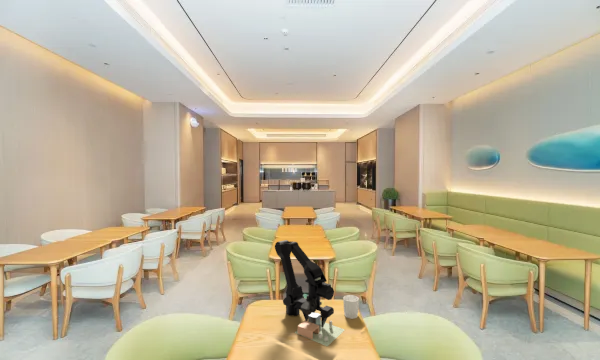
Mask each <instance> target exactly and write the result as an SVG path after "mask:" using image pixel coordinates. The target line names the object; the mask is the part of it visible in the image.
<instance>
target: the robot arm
mask: <svg viewBox="0 0 600 360" xmlns="http://www.w3.org/2000/svg"><path fill="white" fill-rule="evenodd" d="M274 250H275V252H276V255H277V256H278V257H279V259H280V261H281V264H282V269H283V273H284V277H285V281H286V290H285V295H286V296H285V297H284V298H283V299H282V302H283V305H285V313H286V314H287V316H289V317H290V316H292V317H299V315H300V311H301V312H302V314H303V317H304V321H305V320H306V321H308V315H310V314H311V313H314V312H315V313H316V311H319V312H320V313H319V314H321V316H320V317H321V326H322V328H323V327H324V324H325V323H327V319H328V318H329V317H331V316H332V315H333V314H334V312H335V311H334V310H335V309H334V308H333V307H332V306H328V305H325V306H321V305H322V304H323V302H322V301H321V298H322V299H325V300H327V301H330V300H332V299H333V298H334V295H335V291H334V288H333V287H332V285H331V283H326V282H327V278H326V276H325V274H324V272H323V269H322V268H321V267H320V266H319V264H317V263H315V262H314V261H312V260H311V259H310V258H309V256H308V255H307V254H306V253H305V251H304V250H303V249H302V248H301V246H300V245H299V243H298V241H289V240H287V239H285V240H280V241H276V243H275V244H274ZM291 254H292V255H293V257H295V259H296V260H297V261H298V263H299V264H300V265H301V267H302V269H303V274H304V276H305V278H306V279H305V283H307V285H308V287H307V288H308V290H307V291H308V295H306V297H304V291H303V287H302V286H301V285H298V283H297V279H296V276H295V272H294V267H293V263H292V258H291Z"/></svg>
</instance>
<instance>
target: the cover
mask: <svg viewBox="0 0 600 360" xmlns="http://www.w3.org/2000/svg"><path fill="white" fill-rule="evenodd" d="M297 330H298V334H297V335H299V334H300V335H299V336H301V335H303V336H305V337H304V338H306V337H308V338H310V339H309V340H311V339H313V332H315V333H317V334H319V325H316V324H314V323H311V322H308V321H306V320H305V319H304V321H302V322H300V323H299V324H298V325H297ZM303 336H302V337H303ZM308 338H307V339H308Z"/></svg>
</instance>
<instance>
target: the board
mask: <svg viewBox="0 0 600 360" xmlns="http://www.w3.org/2000/svg"><path fill="white" fill-rule="evenodd" d="M344 331H346V330H345V329H344V328H341V327H339V326H335V325H333V320H329V322H325V324H324V327H323V328H322V326H321V325H319V334H317V333H315V332H313V339H310V338H308V337H305V336H303V335H300V334H298V329H297V330H296V331H294V334H295V335H299V336H301V337H304V338H306V339H309V340H311V341H313V342H316V343H318V344H321V345H323V346H324V347H325V346H326V347H329V346H330V345H331V343H333V342H334V341H335V340H336V339H337V338H338V337H339V336H341V334H343V333H344Z"/></svg>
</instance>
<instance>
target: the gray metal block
mask: <svg viewBox="0 0 600 360" xmlns="http://www.w3.org/2000/svg"><path fill="white" fill-rule="evenodd" d="M320 316H321V314H320V313H318V312H316V311H315V312H314V313H311V314H310V315H308V322H311V323H314V324H316V325H321V317H320Z"/></svg>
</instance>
